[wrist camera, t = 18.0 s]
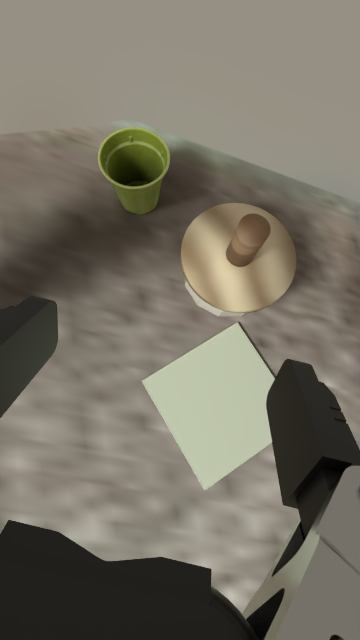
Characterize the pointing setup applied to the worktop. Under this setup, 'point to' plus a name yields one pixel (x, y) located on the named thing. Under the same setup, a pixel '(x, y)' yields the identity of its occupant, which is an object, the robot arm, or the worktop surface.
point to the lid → (238, 257)
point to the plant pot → (135, 167)
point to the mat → (215, 403)
